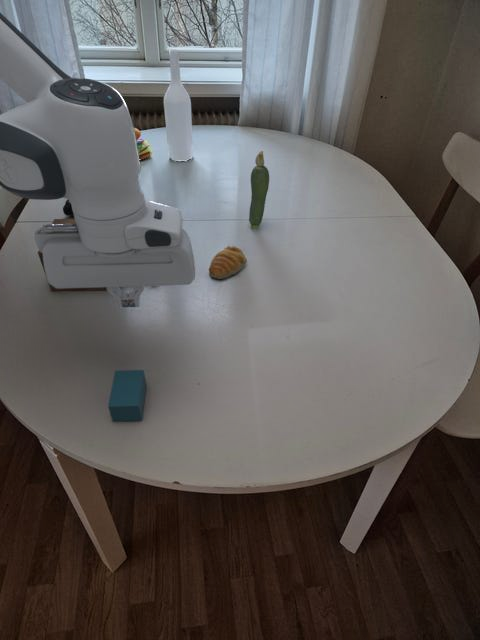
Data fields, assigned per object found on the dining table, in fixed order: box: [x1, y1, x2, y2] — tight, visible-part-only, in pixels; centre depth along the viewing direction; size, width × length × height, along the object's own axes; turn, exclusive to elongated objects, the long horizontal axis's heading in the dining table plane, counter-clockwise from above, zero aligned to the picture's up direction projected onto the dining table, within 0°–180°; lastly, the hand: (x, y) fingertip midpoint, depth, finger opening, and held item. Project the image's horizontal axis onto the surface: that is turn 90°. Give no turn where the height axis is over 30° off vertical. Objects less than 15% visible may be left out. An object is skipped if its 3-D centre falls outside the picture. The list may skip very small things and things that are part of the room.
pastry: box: [208, 245, 248, 280], centre depth 94 cm, size 9×7×4 cm
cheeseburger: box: [133, 127, 153, 160], centre depth 136 cm, size 10×11×10 cm
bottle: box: [163, 49, 194, 163], centre depth 129 cm, size 8×8×30 cm
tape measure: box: [62, 198, 74, 217], centre depth 111 cm, size 7×7×4 cm
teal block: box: [107, 369, 147, 423], centre depth 68 cm, size 7×4×4 cm, turn 3°
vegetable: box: [248, 150, 270, 230], centre depth 102 cm, size 4×4×20 cm
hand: (130, 304), depth 65 cm, fingers closed
